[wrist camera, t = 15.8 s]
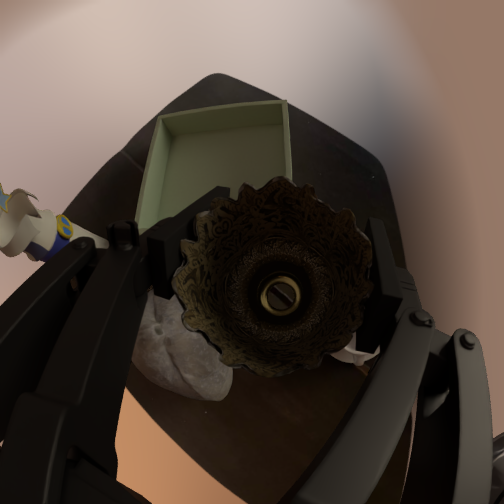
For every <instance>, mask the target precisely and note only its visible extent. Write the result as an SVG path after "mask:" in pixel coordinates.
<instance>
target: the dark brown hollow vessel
mask: <svg viewBox="0 0 504 504" xmlns="http://www.w3.org/2000/svg"><path fill="white" fill-rule="evenodd" d="M355 224H356V218H355V216H354V214H353V213H352V212H351V211H350V209H348V208H343V209H342V210H340V211H339V212H335V211H334V210H333V209H332V208H331V207H330V205H329V204H328V203H327V202H323V201H321V200H318V198H317V195H315V191H314V188H313V186H312V185H310V184H304V185H302V186H301V188H299V187H298V186H296V184H295V183H294V182H292V181H291V180H290V179H289V178H288V177H285V176H277V177H274V178H272V179H271V180H269V181H268V182H267V183H266V184H265V185H264V186H263V187H261V188H259V189H256V188H255V187H254V186H253V185H252V184H250V183H248V182H244V183H243V184H242V185H241V187H240V188H239V189H238V199H237V200H235V199H233V198H231V197H227V198H223V197H217V198H214V199H213V200H212V202H211V208H210V209H209V211H204V212H201V213H198V214H197V215H196V216H195V218H194V222H193V227H194V228H193V229H194V234H195V240H191V241H189V240H186V239H184V240H181V241H180V252H181V253H182V255H183V257H184V260H183V262H182V265H181V266H180V267H179V268H178V269H177V270H176V271H175V273H174V275H173V277H172V281H171V283H172V288H173V291H174V294H175V296H176V298H177V300H178V302H179V303H180V305H181V307H182V309H183V311H184V312H182V314H181V320H182V323H183V325H184V327H185V328H186V329H187V330H188V331H189V332H196V333H199V334H201V336H202V337H203V338H204V339H205V340H206V342H207V344H208V345H209V346H210V347H212V348H214V349H215V350H216V351H217V352H219V353H220V356H219V359H218V360H219V361H220V362H221V363H223V364H224V365H226V366H228V367H231V368H243V369H245V370H247V371H248V372H249V373H251V374H254V375H257V376H261V377H268V378H273V377H279V376H283V375H286V374H289V373H291V372H293V371H295V370H297V369H300V368H304V369H305V370H311V369H315V368H317V367H319V366H320V365H321V361H322V358H323V356H324V355H326V354H333V353H337V352H339V351H340V350H342V349H343V348H345V347H346V346H347V345H348V344H349V343H350V341H351V340H352V338H353V333H355V332H356V330H357V329H358V328H359V327H360V326H361V325H362V324H363V319H364V311H365V307H364V306H363V304H364V302H365V301H366V300H367V299H368V298H369V297H370V295H371V293H372V291H373V289H374V284H373V282H372V281H371V280H370V279H369V273H370V267H371V265H372V246H371V242H370V240H369V239H368V237H367V236H366V235H365V234H364V233H363V232H362V231H361V229H359V228H358V227H357V226H356V225H355ZM276 284H286V285H288V286H290V287H291V288H292V290H293V292H294V301H293V303H292V304H291V306H289V307H288V308H286V309H283V310H279V309H276V308H274V307H272V306H271V304H270V303H269V301H268V293H269V291H270V289H271V288H272V287H273V286H274V285H276Z"/></svg>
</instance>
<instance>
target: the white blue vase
mask: <svg viewBox="0 0 504 504" xmlns="http://www.w3.org/2000/svg"><path fill="white" fill-rule="evenodd" d="M27 195H29V196H32V197H34V198H35V199H37V198H36V197H35V196H34V195H32V194H31V193H29V192H26V191H25V190H23V189H16V190H14V191H13V192H12V193H11V194H10V195H8V194H4V193H3V189H2V186H1V183H0V250H1V251H2V252H3V253H4V254H5V255H6V256H8V257H14V256H17V255H19V254H20V253H22V252H24V253H26V254H27V256H28V258H29V259H30V260H32V261H39V260H40V261H43V262H47V261H48V260H49V259H50V258H51V257H53V256H54V255H55V254H56V253H57V252H58V251H60V250H61V249H62V248H63V247H64V246H66V245H67V244H68V243H69V242H71V241H72V240H74V239H76V238H78V237H82V236H85V237H91V238H93V239H94V240H95V245H96V248H108V247H109V241H108V240H106V239H104V238H102V237H99V236H97V235H95V234H93V233H91V232H89V231H87V230H85V229H83V228H81V227H79V226H78V225H76V224H74V223H71V222H70V221H69V220H68V218H67V217H65V216H64V215H58V216H55V214H54V213H53V212H52V211H50V210H43V211H42V210H38V209H36V207H35V206H34V205H33V204H32V203H31V201H30V200H29V198H28V196H27Z"/></svg>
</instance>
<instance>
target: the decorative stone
mask: <svg viewBox="0 0 504 504" xmlns="http://www.w3.org/2000/svg"><path fill="white" fill-rule="evenodd" d="M182 312H184V311H183V309H182V307H181V305H180V303H179V302H178V300H177V298H176V296H175V294H174V296H173V297H172V298H171V299H170V300H167V299H164V298H161V297H158V296H155V295H154V291H153V289H152V290H151V291H150V292H148V300H147V303H146V307H145V310H144V313H143V317H142V320H141V324H140V328H139V331H138V335H137V339H136V343H135V347H134V351H133V355H132V359H131V360H132V361H133V363H134V364H135V366H136V367H137V368H138V370H139V371H140V372H141V373H142V374H143V375H144V376H145V377H146V378H148V379H149V380H150V381H152V382H153V383H155V384H157V385H159V386H160V387H162V388H165V389H167V390H170V391H173V392H175V393H177V394H180V395H182V396H185V397H188V398H193V399H197V400H216V401H221V400H222V399H223V398H225V396H226V395H227V394H228V392H229V389H230V387H231V384H232V375H233V371H232V368H231V367H228V366H226V365H224V364H223V363H221V362H220V361H219V360H218V359H219V356H220V353H219V352H217V351H216V350H215V349H214V348H212V347H210V346H209V345H208V344H207V342H206V340H205V339H204V338H203V337H202V336H201V334H199V333H196V332H189V331H188V330H187V329H186V328H185V327H184V325H183V323H182V320H181V314H182Z"/></svg>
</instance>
